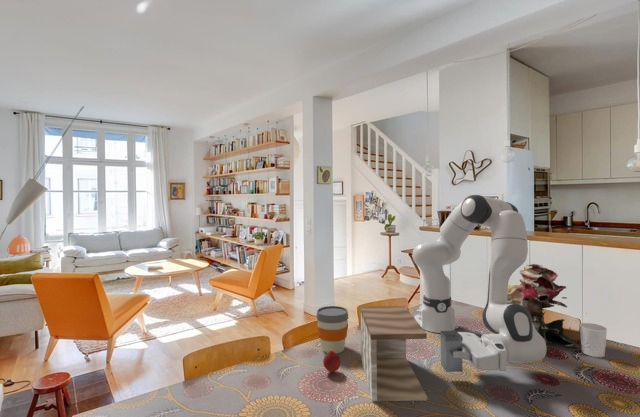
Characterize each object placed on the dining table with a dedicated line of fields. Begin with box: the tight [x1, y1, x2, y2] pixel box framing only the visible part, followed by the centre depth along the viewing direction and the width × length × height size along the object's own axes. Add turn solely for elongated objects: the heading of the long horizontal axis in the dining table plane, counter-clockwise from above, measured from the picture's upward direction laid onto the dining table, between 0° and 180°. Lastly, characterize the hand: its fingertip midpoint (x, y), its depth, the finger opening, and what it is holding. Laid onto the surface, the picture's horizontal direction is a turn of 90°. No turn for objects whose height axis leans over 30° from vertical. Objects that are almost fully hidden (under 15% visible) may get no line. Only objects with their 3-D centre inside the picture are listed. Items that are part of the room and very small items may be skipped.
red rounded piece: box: [322, 349, 341, 374], centre depth 116 cm, size 6×6×8 cm
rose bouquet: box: [507, 263, 588, 349], centre depth 146 cm, size 26×29×30 cm
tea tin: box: [439, 330, 463, 373], centre depth 110 cm, size 5×5×11 cm
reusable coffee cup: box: [316, 305, 349, 354], centre depth 135 cm, size 13×13×15 cm
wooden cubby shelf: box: [360, 305, 428, 402], centre depth 112 cm, size 26×16×20 cm, turn 0°
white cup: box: [579, 322, 608, 358], centre depth 127 cm, size 8×8×10 cm
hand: (448, 349), depth 110 cm, fingers closed on tea tin, 5 cm apart
